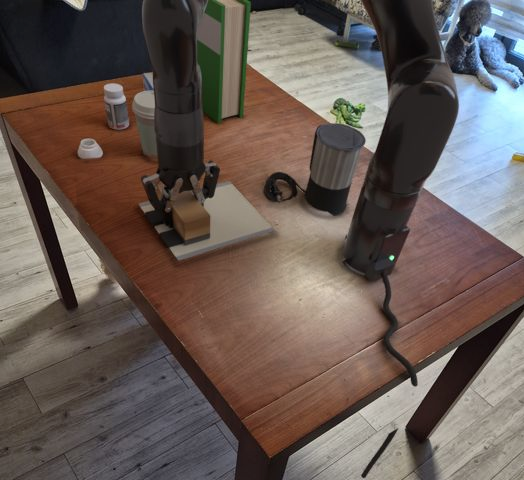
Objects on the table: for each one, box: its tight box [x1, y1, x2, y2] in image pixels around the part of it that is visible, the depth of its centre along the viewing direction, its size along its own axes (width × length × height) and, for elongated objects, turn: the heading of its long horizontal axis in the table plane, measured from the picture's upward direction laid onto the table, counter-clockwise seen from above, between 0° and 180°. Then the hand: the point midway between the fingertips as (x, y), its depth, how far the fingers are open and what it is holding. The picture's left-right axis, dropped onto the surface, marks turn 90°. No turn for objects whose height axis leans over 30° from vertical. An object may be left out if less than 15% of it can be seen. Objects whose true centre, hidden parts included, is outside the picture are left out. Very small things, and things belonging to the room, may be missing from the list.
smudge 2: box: [159, 229, 183, 249], centre depth 84 cm, size 4×3×1 cm
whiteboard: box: [138, 180, 276, 262], centre depth 89 cm, size 18×20×1 cm
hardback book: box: [197, 0, 252, 124], centre depth 110 cm, size 18×7×24 cm, turn 37°
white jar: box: [77, 138, 104, 160], centre depth 98 cm, size 5×3×5 cm
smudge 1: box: [144, 210, 164, 227], centre depth 87 cm, size 4×3×1 cm
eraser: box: [155, 182, 210, 246], centre depth 85 cm, size 12×5×5 cm, turn 31°
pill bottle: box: [103, 82, 130, 131], centre depth 105 cm, size 5×5×8 cm
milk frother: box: [263, 122, 367, 217], centre depth 92 cm, size 14×16×15 cm
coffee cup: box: [131, 90, 158, 159], centre depth 98 cm, size 8×8×12 cm
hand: (183, 221), depth 87 cm, fingers closed on eraser, 5 cm apart
